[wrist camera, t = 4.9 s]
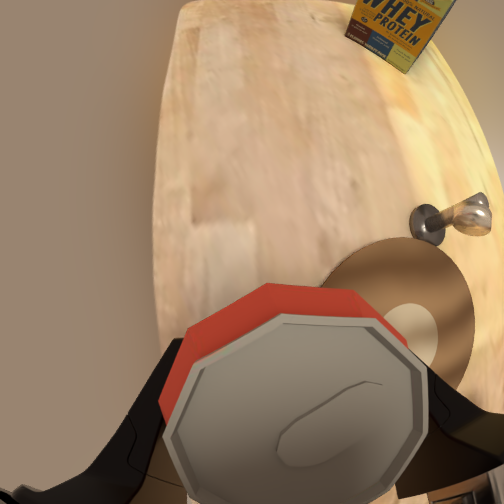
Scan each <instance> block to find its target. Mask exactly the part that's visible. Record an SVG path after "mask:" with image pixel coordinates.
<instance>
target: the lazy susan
mask: <svg viewBox="0 0 504 504" xmlns="http://www.w3.org/2000/svg"><path fill="white" fill-rule="evenodd" d="M321 288H335V289H350V290H354V291H356V292H357V293H358V294H359V295H360V296H361V297H362V298H363V299H364V300H365V301H366V302H367V303H368V304H370V305H371V306H372V307H373V308H374V309H375V310H376V311H377V312H378V313H379V314H380V315H381V316H382V317H383V318H384V319H385V320H386V321H388V322H389V323H390V324H391V325H392V326H393V327H394V328H395V329H396V330H397V331H398V332H399V333H400V334H401V335H402V336H403V337H404V338H405V339H406V340H407V344H408V348H409V349H410V350H411V351H412V352H413V353H414V354H415V355H417V356H418V357H419V358H420V359H421V360H422V361H423V362H424V363H425V364H426V365H428V366H429V367H430V368H431V369H432V370H433V371H434V372H435V373H436V374H438V375H439V376H440V377H441V378H442V379H443V380H444V381H445V382H446V383H448V384H449V385H450V386H451V387H452V388H454V389H455V390H456V389H457V387H458V386H459V384H460V382H461V380H462V378H463V376H464V373H465V371H466V369H467V366H468V363H469V360H470V356H471V352H472V348H473V342H474V333H475V316H474V307H473V302H472V297H471V294H470V291H469V288H468V285H467V283H466V281H465V278H464V276H463V275H462V273H461V271H460V270H459V268H458V267H457V265H456V264H455V263H454V262H453V261H452V259H451V258H450V257H449V256H447V255H446V254H445V253H444V252H443V251H442V250H440V249H439V248H437V247H436V246H434V245H432V244H430V243H427V242H425V241H422V240H418V239H415V238H405V237H402V238H391V239H387V240H382V241H379V242H377V243H374V244H372V245H369V246H367V247H364V248H363V249H361V250H359V251H358V252H356V253H354V254H353V255H351V256H350V257H349V258H347V259H346V260H345V261H344V262H342V263H341V264H340V265H339V266H338V267H337V268H336V269H335V270H334V271H333V272H332V274H331V275H330V276H329V277H328V279H327V280H326V281H325V283H324V284H323V285H322V287H321Z"/></svg>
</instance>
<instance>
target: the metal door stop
mask: <svg viewBox="0 0 504 504" xmlns="http://www.w3.org/2000/svg"><path fill="white" fill-rule="evenodd" d="M491 221H492V213H491V211H490V209H489V203H488V200H487V197H486V196H485V195H484V194H483V193H482V192H480V193H477V194H475V195H473V196H471V197H469V198H467V199H465V200H463V201H461V202H459V203H457V204H455V205H453V206H451V207H449V208H447V209H445V210H443V211H441V212H439V211H438V210H437V209H436V208H435V207H434V206H432V205H429V204H423V205H421V206H419V207H417V208H415V209H414V210H413V212H412V214H411V216H410V230H411V233H412V235H413V237H414V238H415V239H418V240H422V241H425V242H427V243H430V244H432V245H434V246H438V245H440V244H441V243H442V241H443V239H444V237H445V228H447V227H449V226H452V225H453V226H454V228H455V229H456V230H458V231H459V232H461V233H463V234H466V235H470V236H484V235H487V234H488V233H489V232H490V231H491Z"/></svg>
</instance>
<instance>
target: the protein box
mask: <svg viewBox="0 0 504 504" xmlns="http://www.w3.org/2000/svg"><path fill="white" fill-rule="evenodd" d="M455 1H456V0H357V2H356V5H355V8H354V10H353V13H352V16H351V19H350V22H349V25H348V28H347V30H346V33H345V36H347V37H348V38H350V39H352V40H354V41H356V42H357V43H359V44H361V45H362V46H364V47H366V48H367V49H369V50H370V51H372V52H374V53H375V54H377V55H378V56H380V57H381V58H383V59H384V60H386V61H387V62H389V63H390V64H392V65H393V66H394V67H396V68H397V69H398V70H400V71H401V72H403V73H404V74H406V73H407V71H408V70H409V69H410V67H411V66H412V65H413V63H414V62H415V61H416V59H417V58H418V57H419V55H420V54H421V53H422V51H423V50H424V48H425V47H426V46H427V44H428V43H429V41H430V40H431V38H432V37H433V35H434V34H435V32H436V31H437V29H438V28H439V26H440V25H441V23H442V22H443V20H444V19H445V17H446V16H447V14H448V13H449V11H450V10H451V8H452V6H453V5H454V3H455Z"/></svg>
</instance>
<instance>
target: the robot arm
mask: <svg viewBox="0 0 504 504" xmlns="http://www.w3.org/2000/svg"><path fill="white" fill-rule="evenodd" d="M183 339H184V338H174V339H173V340H172V342H171V343H170V345H169V347H168V348H167V350H166V351H165V353H164V355H163V356H162V358H161V359H160V361H159V363H158V364H157V366H156V368H155V369H154V371H153V372H152V374H151V376H150V377H149V379H148V380H147V382H146V384H145V386H144V387H143V389H142V390H141V392H140V394H139V395H138V397H137V398H136V401H135V402H134V403H133V405H132V407H131V408H130V410H129V412H128V415H126V417H125V419H124V420H123V422H122V423H121V425H120V426H119V428H118V429H117V431H116V433H115V434H114V435H113V437H112V438H111V439H110V441H109V442H108V443H107V445H106V446H105V447H104V449H103V450H102V451H101V453H100V454H99V455H98V456H97V458H96V459H95V460H94V461H93V463H92V464H91V465H90V466H89V467H88V468H87V469H86V470H85V471H84V472H82V473H81V474H79V475H78V476H75V477H73V478H71V479H69V480H67V481H65V482H63V483H61V484H59V485H57V486H55V487H53V488H50V489H48V490H45V491H41V490H38V489H35V488H32V487H30V486H27V485H23V484H22V485H20V486H19V487H17V488H16V489H15V490H14V491H13V492H10V491H7V490H5V489H2V488H0V504H187V491H186V489H185V487H184V485H183V483H182V481H181V479H180V477H179V475H178V473H177V470H176V468H175V466H174V464H173V461H172V459H171V457H170V454H169V452H168V450H167V447H166V445H165V442H164V440H163V437H162V436H163V434H164V431H165V429H166V426H167V425H166V423H165V420H164V417H163V414H162V411H161V408H160V405H159V402H158V400H159V398H160V395H161V393H162V390H163V388H164V385H165V383H166V380H167V378H168V375H169V373H170V370H171V368H172V366H173V363H174V361H175V358H176V356H177V353H178V351H179V349H180V346H181V344H182V341H183ZM408 349H409V348H408ZM409 351H411V350H410V349H409ZM411 352H412V351H411ZM412 353H413V352H412ZM413 354H414V353H413ZM414 355H415V354H414ZM415 356H416V357H417V358H418V359H419V360H420V361H421V362H422V363H423V364H424V365H425V366H426V367H427V380H428V433H427V435H426V437H425V439H424V440H423V442H422V444H421V445H420V447H419V449H418V450H417V452H416V453H415V455H414V457H413V458H412V460H411V461H410V463H409V464H408V466H407V467H406V469H405V470H404V471H403V473H402V474H401V476H400V477H399V479H398V480H397V481H396V483H395V486H396V491H397V495H398V499H402V498H407V497H412V496H416V495H420V494H424V493H427V496H428V501H429V504H504V414H498V413H491V412H487V411H484V410H482V409H480V408H479V407H477V406H476V405H475V404H473V403H472V402H471V401H469V400H468V399H467V398H465V397H464V396H463V395H461V394H460V393H459V392H457V391H456V390H455V389H454V388H452V387H451V386H450V385H449V384H448V383H446V382H445V381H444V380H443V379H442V378H441V377H440V376H439V375H438V374H436V373H435V372H434V371H433V370H432V369H431V368H430V367H429V366H428V365H426V364H425V363H424V362H423V361H422V360H421V359H420V358H419V357H418V356H417V355H415Z"/></svg>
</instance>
